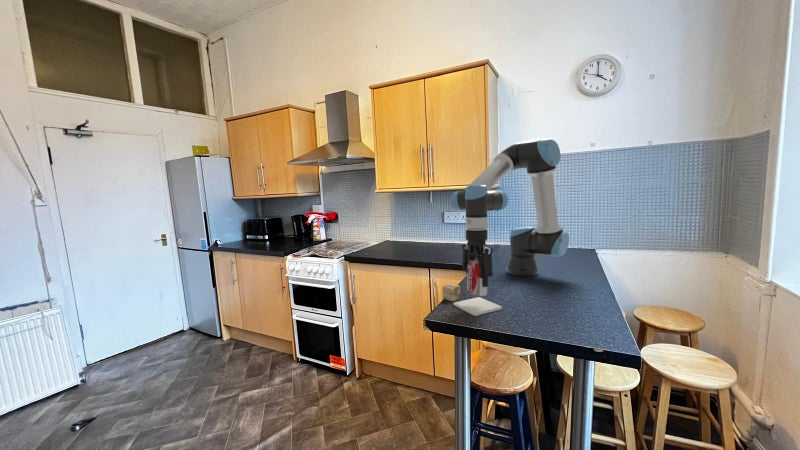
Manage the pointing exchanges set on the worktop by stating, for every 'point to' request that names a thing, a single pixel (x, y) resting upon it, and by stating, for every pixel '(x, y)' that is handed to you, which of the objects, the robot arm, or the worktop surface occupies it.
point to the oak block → (451, 292)
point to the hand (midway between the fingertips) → (476, 292)
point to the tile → (477, 306)
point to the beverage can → (474, 277)
